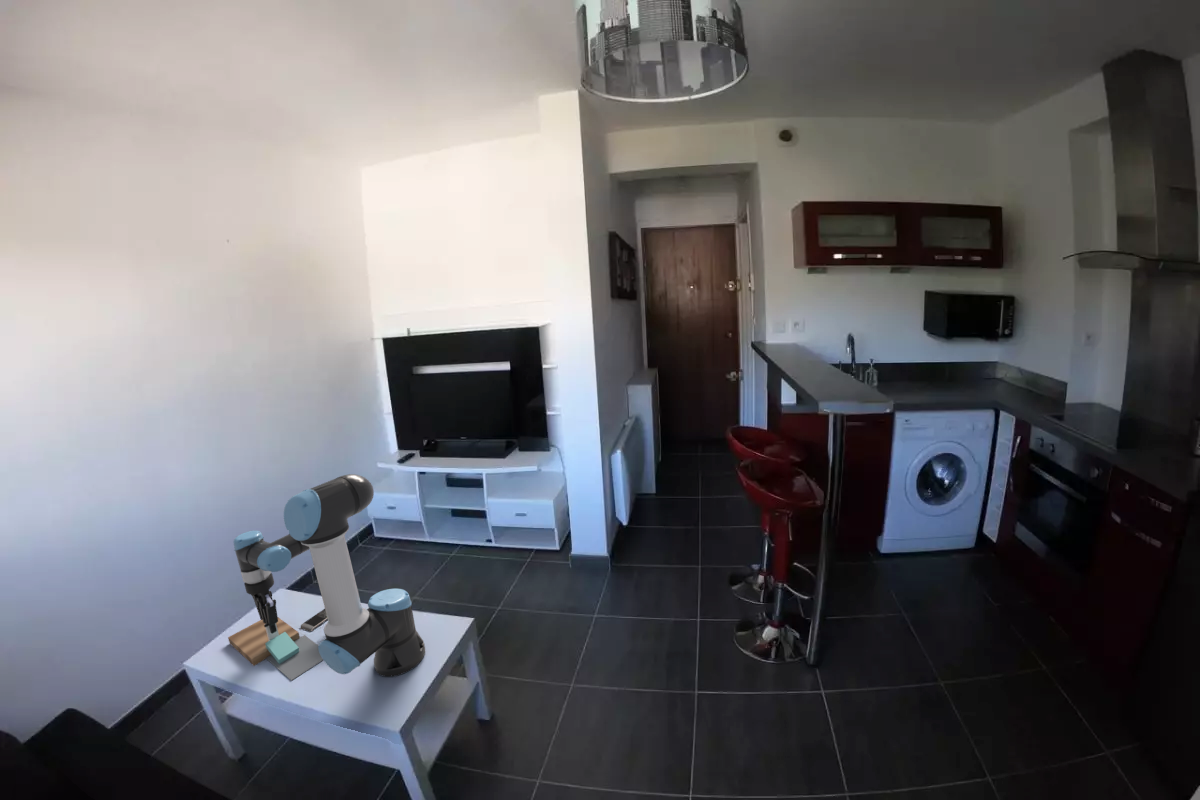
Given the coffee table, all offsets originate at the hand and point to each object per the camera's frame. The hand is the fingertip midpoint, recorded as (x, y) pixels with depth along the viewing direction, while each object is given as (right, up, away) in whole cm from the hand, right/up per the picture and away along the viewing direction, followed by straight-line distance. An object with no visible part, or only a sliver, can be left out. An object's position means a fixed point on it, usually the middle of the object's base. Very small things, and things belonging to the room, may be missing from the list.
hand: (274, 639), depth 157 cm
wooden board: (-7, -3, +5) cm, 9 cm away
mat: (+11, -4, -4) cm, 12 cm away
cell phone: (+7, -1, +14) cm, 16 cm away
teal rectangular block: (+4, -2, -2) cm, 5 cm away
